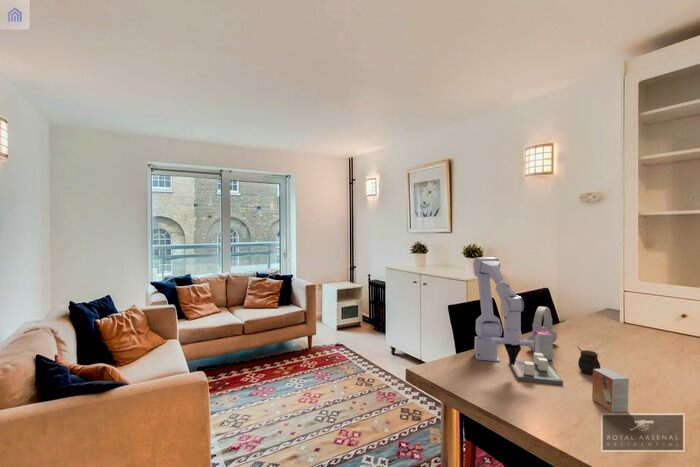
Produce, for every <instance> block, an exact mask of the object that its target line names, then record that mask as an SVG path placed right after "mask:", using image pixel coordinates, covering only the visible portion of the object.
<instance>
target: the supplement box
mask: <svg viewBox="0 0 700 467" xmlns="http://www.w3.org/2000/svg"><path fill="white" fill-rule="evenodd" d="M553 344H554V342H553V335H552V334H551V333H550V332H548V331H537V330H535V344H534V351H533V354H534V353H542V354H543V355H544V358H546V359H547V360H548V362H553V354H554V353H553V349H554V347H553Z"/></svg>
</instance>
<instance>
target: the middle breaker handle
mask: <svg viewBox="0 0 700 467" xmlns="http://www.w3.org/2000/svg"><path fill="white" fill-rule="evenodd" d="M548 363H549V361H548V360H547V359H546V358H537V368H538V369H539V370H540V371H548Z"/></svg>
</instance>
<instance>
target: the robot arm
mask: <svg viewBox="0 0 700 467" xmlns="http://www.w3.org/2000/svg"><path fill="white" fill-rule="evenodd" d="M472 264H473V274H474V277H476V278H477V284H478V293H479V302H480V304H479V305H480V311H481V315H479V316H478V317H477V318H476V319H475V333H476V335H477V336H474V351H473V353H474V356H475V360H477V361H478V360H479V361H491V362H500V361H501V360H500V358H499V356H498V345H504V347H505V351H506V352H507V356H508V362H509V361H510V364H511V365H515V361H516V360H517V357H518V355H519V353H520V351H522V346H523V347H528V346H530V347H534V342H533V341H532V340H527V339H524V338H521V336H522V335H521V333H522V332H521V326H522V321H521V319H522V318H521V317H522V315H521V313H522V312H523V311H524V308H525V302H524V300H523V298H522V297H521V295H520V296H519V295H518V294H516V293H515V291H514V289H513V287H512V286H511V284H510V283H509V281H506V280H505V278H504V276H503V274H502V271H501V262H500V259H499V257H497V256H494V257H489V256H488V257H485V256H483V257H482V256H481V257H479V256H477V257H475V258H474V259H473V263H472ZM491 279H492V280H493V282H494V284H495V285H496V286H495V291H496V293H497V295H498V297H499V298H500V301H501V303H500V306H501V309H502V316H503V328H502V324H501V320H500V318H499V317H497V316H496V315H494V307H493V305H494V304H493V298H492V287H491V281H490V280H491ZM502 334H503V337H501V336H502ZM510 364H509V365H510Z"/></svg>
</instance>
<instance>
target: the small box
mask: <svg viewBox="0 0 700 467" xmlns="http://www.w3.org/2000/svg"><path fill="white" fill-rule="evenodd" d="M629 383H630V379H629V378H628V377H626V376H623V375H622V374H620V373H617V372H616V371H613V370H611V369H610V368H600V369H593V375H592V390H591V391H592V393H591V396H592V397H591V399H592V401H593V402H595V403H597V404H599V405H600V406H601V407H603V408H605V409H606V410H607V411H609V412H610V413H620V412H621V413H623V412H624V413H625V412H629V386H630V385H629Z"/></svg>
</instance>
